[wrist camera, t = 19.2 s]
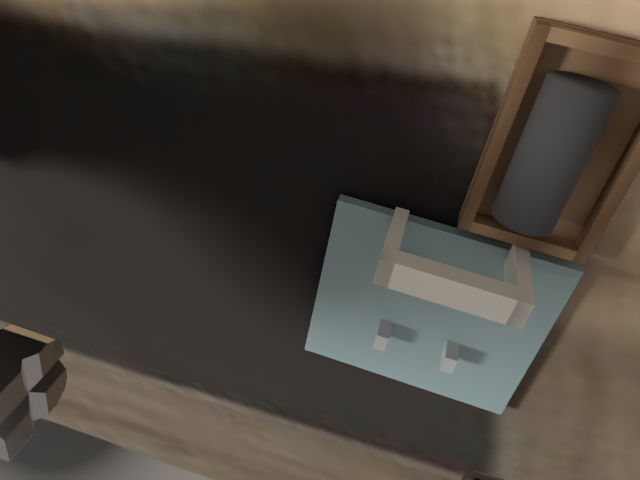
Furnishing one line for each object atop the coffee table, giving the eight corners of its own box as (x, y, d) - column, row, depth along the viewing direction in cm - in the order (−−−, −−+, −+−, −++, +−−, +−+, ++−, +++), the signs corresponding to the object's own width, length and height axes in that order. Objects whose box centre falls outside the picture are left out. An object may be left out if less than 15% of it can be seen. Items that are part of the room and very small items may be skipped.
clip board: (307, 341, 49) (298, 364, 47) (340, 194, 40) (330, 213, 38) (500, 405, 47) (501, 433, 44) (582, 264, 38) (588, 289, 35)
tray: (459, 213, 38) (457, 228, 37) (534, 16, 31) (536, 22, 29) (579, 248, 37) (584, 264, 35) (689, 52, 29) (701, 62, 28)
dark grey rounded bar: (504, 195, 37) (481, 215, 34) (558, 66, 32) (537, 77, 29) (560, 221, 35) (541, 244, 32) (627, 89, 30) (612, 102, 27)
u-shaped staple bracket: (389, 229, 39) (372, 283, 34) (396, 206, 38) (379, 258, 32) (517, 267, 38) (521, 330, 32) (528, 245, 37) (534, 305, 31)
